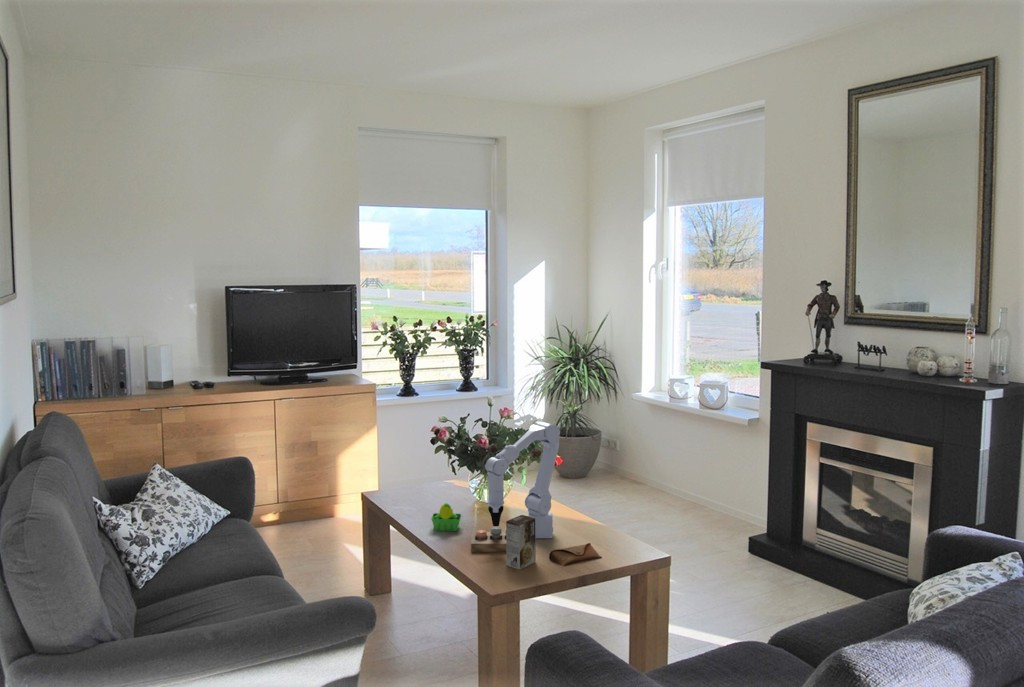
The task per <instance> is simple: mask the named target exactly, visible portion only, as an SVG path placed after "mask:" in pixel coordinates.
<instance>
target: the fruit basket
mask: <svg viewBox="0 0 1024 687" xmlns="http://www.w3.org/2000/svg"><path fill="white" fill-rule="evenodd" d="M461 517H462V514H461V513H454V509H453V508H452V506H451V505H450V504H449V503H448V502H445V503H444V504H442V505H441V507H440V509H439V513H438V512H436V513H435V512H434V513H432V516H431V518H430V519H431V522H432V526H433V529H434V531H440V532H441V531H444V532H445V531H452V532H453V531H454V532H457V531H458V529H459V525H460V521H461Z"/></svg>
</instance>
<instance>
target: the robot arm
mask: <svg viewBox="0 0 1024 687" xmlns="http://www.w3.org/2000/svg"><path fill="white" fill-rule="evenodd" d="M560 435H561V430H560V429H559V427H558V426H557V425H556V424H554V423H548V422H544V421H541V420H536V421H534V423H533V424H531V425H530V427H529V429H528V430H527V431H526V432H525V433H524V434H523V435H522V436H521V437H520V438H519V439H518V440H517V441H516V442H515V443H514V444H508V445H505V446H504V448H503V449H502V450H501V451H500V452H499V453H496V455H495V456H492V457H490V458H488V459H487V460H486V462H485V465H484V469H485V470H486V472H487V481H488V482H487V490H488V492H487V495H488V496H487V498H488V499H487V500H485V501H484V504H485V505H488V506H487V507H488V508H487V509H488V512H489V514H490V517H491V523H492V526H493V527H499V526H500V522H501V517H502V514H503V512H504V504H505V501H504V494H505V493H504V489H505V487H504V485H505V484H504V483H505V482H504V477H505V476H504V474H505V473H506V472H507V470H508V468H509V465H511V464H512V463H513V462H514V461H516V459H518V458H519V456H520V452H521V451H522V450H524V449H525V448H527V447H528V446H530V444H532V443H534V442H535V441H540V442H541V445H542V446H543V447H544V448H543V451H542V455H541V459H540V464H539V467H538V471H537V475H536V479H535V484H534V486H532V488H530V489H529V491H528V494H527V496H526V497H525V500H524V506H525V508H526V509H527V512H528V516H529V517H531V518H535V539H553V536H554V534H553V533H554V527H553V521H554V518H553V512H550V510H551V508H552V495H551V492H550V490H549V489H550V485H551V480H552V476H553V473H554V468H555V464H556V460H557V456H558V452H559V449H560Z"/></svg>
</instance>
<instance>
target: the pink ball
mask: <svg viewBox="0 0 1024 687" xmlns="http://www.w3.org/2000/svg"><path fill="white" fill-rule="evenodd" d="M475 532H476V537H477V538H478V540H485V537H487V532H488V531H487V530H485V529H478V530H475Z"/></svg>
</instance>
